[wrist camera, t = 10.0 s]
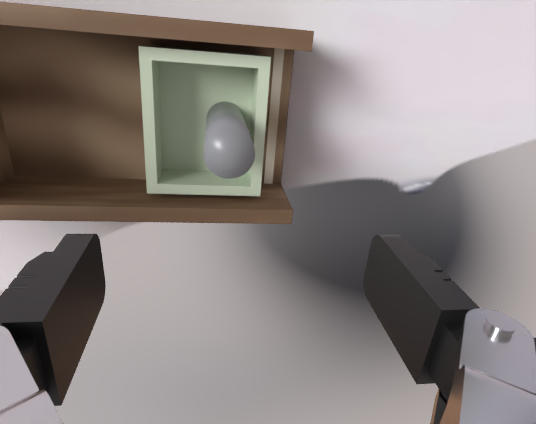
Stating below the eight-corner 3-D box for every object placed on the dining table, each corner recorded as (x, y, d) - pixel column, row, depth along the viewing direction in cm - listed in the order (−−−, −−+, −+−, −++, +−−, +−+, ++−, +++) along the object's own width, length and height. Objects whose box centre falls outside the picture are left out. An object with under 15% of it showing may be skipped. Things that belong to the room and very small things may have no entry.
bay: (-33, 2, 27) (-107, -9, 21) (293, 32, 31) (313, 31, 24) (7, 184, 33) (-42, 219, 27) (277, 191, 36) (291, 223, 30)
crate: (148, 44, 29) (115, 49, 19) (263, 54, 30) (287, 62, 20) (155, 174, 33) (130, 232, 23) (254, 177, 34) (271, 233, 24)
